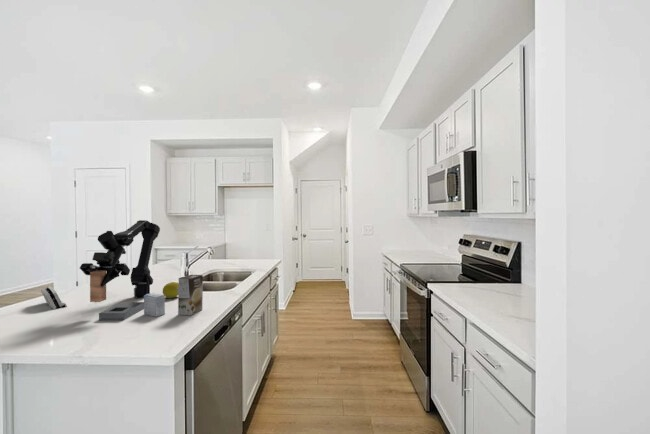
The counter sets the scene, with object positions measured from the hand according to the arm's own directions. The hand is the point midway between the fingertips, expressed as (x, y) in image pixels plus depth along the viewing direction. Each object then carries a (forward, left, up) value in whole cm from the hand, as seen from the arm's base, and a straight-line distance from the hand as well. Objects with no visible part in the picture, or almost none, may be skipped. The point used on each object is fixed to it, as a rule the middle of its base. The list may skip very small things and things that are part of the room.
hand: (96, 286), depth 133 cm
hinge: (+12, -35, -14) cm, 40 cm away
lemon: (-34, -13, -14) cm, 39 cm away
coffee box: (-32, +18, -14) cm, 40 cm away
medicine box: (-19, +11, -14) cm, 26 cm away
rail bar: (-9, +2, -13) cm, 16 cm away
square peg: (-1, -1, -7) cm, 7 cm away
